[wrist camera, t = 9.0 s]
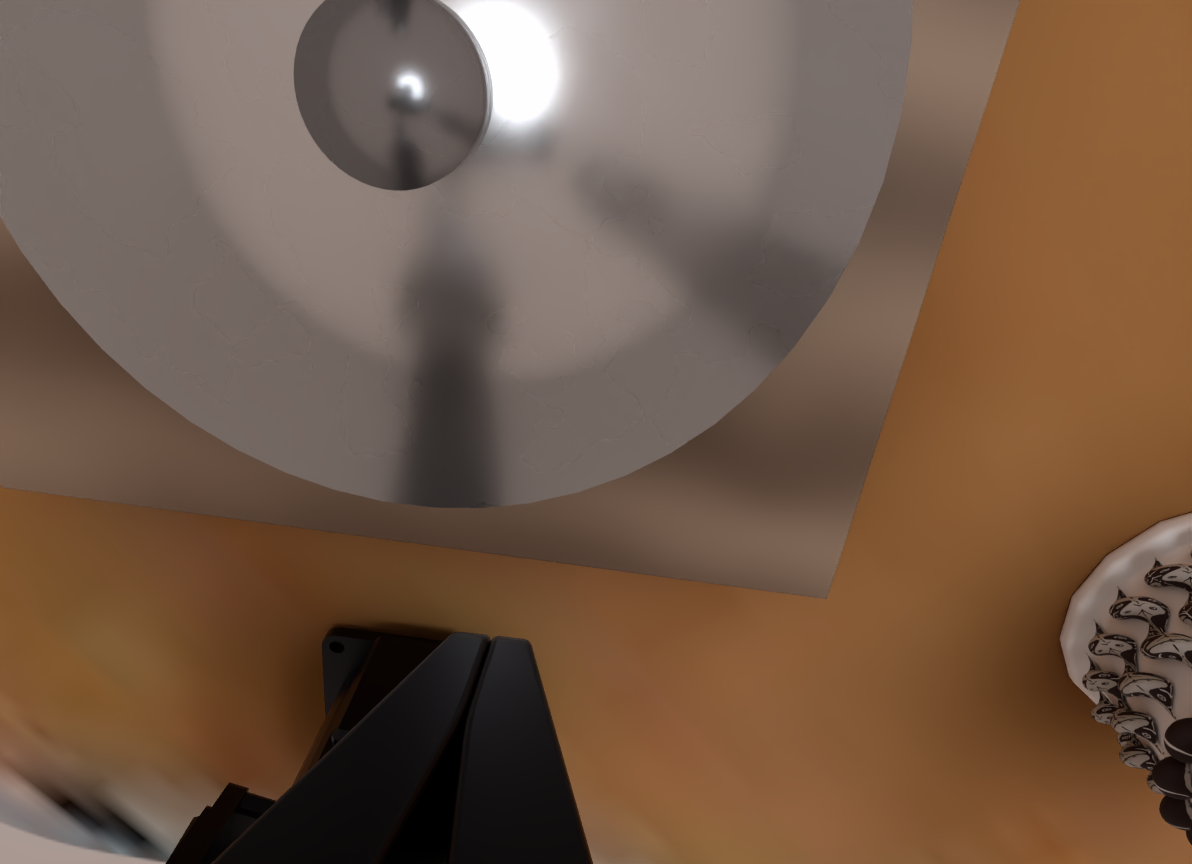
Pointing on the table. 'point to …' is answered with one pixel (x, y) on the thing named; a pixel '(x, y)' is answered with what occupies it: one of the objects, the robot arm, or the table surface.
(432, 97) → the dial
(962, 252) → the table surface
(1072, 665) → the decorative candle
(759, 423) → the walnut stand
